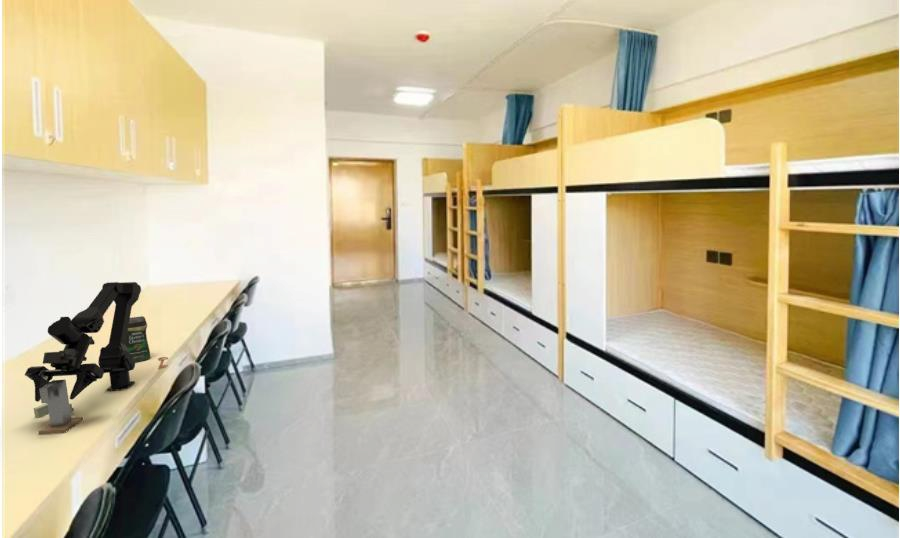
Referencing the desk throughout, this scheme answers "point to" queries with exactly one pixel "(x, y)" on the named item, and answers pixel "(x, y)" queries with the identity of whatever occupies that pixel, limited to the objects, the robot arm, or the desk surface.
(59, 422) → the stepped metal bracket
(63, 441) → the desk surface
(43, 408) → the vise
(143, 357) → the coffee jar
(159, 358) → the key
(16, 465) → the desk surface
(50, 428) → the walnut board
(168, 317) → the desk surface
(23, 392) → the desk surface
